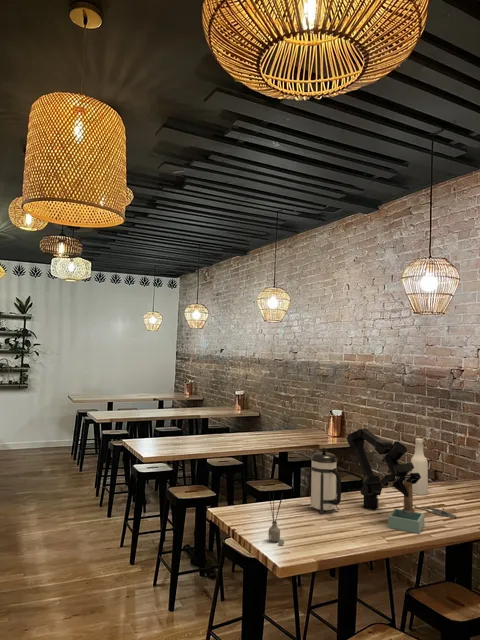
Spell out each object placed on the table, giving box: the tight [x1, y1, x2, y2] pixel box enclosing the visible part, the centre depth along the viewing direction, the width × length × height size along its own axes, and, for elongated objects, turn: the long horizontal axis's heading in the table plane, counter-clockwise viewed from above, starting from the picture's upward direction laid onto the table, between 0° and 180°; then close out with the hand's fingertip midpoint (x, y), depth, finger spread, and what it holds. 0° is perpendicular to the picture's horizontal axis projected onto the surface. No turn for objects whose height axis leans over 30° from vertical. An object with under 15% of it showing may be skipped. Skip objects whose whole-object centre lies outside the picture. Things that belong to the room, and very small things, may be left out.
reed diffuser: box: [267, 489, 285, 546], centre depth 195 cm, size 10×7×20 cm
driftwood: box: [413, 505, 457, 519], centre depth 236 cm, size 21×7×2 cm, turn 31°
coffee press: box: [307, 447, 342, 515], centre depth 235 cm, size 17×16×30 cm
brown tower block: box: [402, 481, 415, 514], centre depth 216 cm, size 5×5×13 cm
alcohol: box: [410, 437, 429, 496], centre depth 270 cm, size 9×9×30 cm
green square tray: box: [387, 508, 425, 535], centre depth 215 cm, size 13×13×5 cm
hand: (409, 496), depth 215 cm, fingers closed on brown tower block
